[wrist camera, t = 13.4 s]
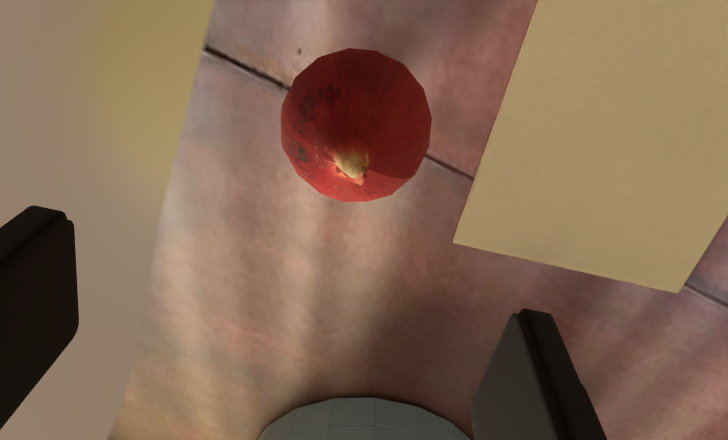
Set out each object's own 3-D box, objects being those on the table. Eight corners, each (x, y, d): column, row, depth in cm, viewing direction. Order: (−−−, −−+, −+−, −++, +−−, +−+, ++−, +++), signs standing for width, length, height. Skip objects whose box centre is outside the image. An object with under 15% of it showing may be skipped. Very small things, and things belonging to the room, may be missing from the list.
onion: (300, 155, 25) (260, 241, 18) (296, 30, 23) (248, 74, 16) (421, 162, 25) (427, 252, 18) (433, 36, 22) (445, 84, 15)
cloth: (452, 239, 27) (453, 243, 27) (560, -64, 20) (563, -64, 20) (674, 289, 28) (678, 294, 27) (851, 10, 21) (859, 12, 20)
